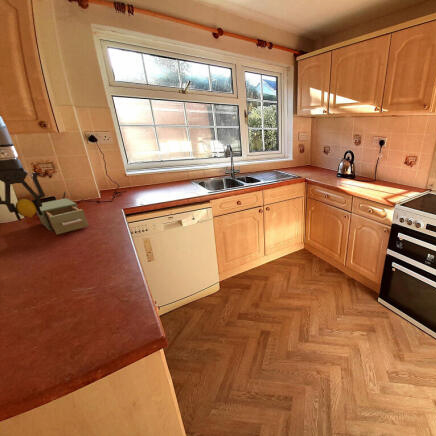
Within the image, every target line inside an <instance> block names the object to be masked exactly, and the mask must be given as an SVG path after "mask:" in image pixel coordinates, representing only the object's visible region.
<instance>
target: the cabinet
mask: <svg viewBox="0 0 436 436" xmlns="http://www.w3.org/2000/svg"><path fill="white" fill-rule="evenodd" d="M41 203H42V207H40V210H41V212H42V214H43V215H41V216H40V215H39V214H38V211H36V214H37V216H38V219H39V220H40V223H41V225H43V226H44V227H45V229H47V230H48V231H55V230H54V229H53V228H52V227H51V226H50V225H49V222H48V220H47V218H46V215H45V213H44V212H46V211H51V210H55V209H60V208H65V207H69V206H74V207H76V208H78V204H77V203H76V202H74V201H72V200H70V199H69V198H66V197H65V198H64V199H63V198H61V199H54V200H50V201H45V202H41ZM78 209H79V208H78Z"/></svg>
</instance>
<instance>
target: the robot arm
mask: <svg viewBox="0 0 436 436" xmlns="http://www.w3.org/2000/svg"><path fill="white" fill-rule="evenodd" d="M18 157H19V154H18V152H17V150H16V148H15V145H14V142H13V140H12V138H11V135H10V132H9V130H8V128H7V124H6V123H5V121H4V119H3V117H2V116H1V115H0V181H1V182H2V183H3V184H4V185H3V186H4V200H3V199H2V197H1V196H0V205H4V206H6V208H7V210H8V212H9V213H10V214H11V213H14V215H15V217H16V219H17V220H18V221H21V220H22V218H21V215H20V214H19V213H18V212H17V209H16V204H15V203H14V202H12V201H11V200H12V199H11V198H12V197H11V196H12V195H11V185H15V184H21V185H22V186H23V187H24V188H25V189H26V191H27V192H28V193H29V194H30V195H31V196H32V197H33V199H32V200H31V201H32V202H33V203H34V204H35V206H36V208H37V211H38V214H39V215H40V216H41V215H43V214H42V212H41V210H40V207H42V203H43V202H42V201H41V199H42V198H44V197H46V194H45V192H44V191H43V188H42V185H41V184H40V182H39V179H38V173H37V172H35V171H33V172H30V171H29V172H28V171H27V170H25V168H24V166H23V164H22V162H21V159H20V158H18ZM27 176H28V177H29V178H31V180H32V182H33V185H34V186H35V188H36V191H37V192H38V194H37V193H36V192H35V191H34V189H32V187H31V186H30V185H29V183H27V182H26V178H27ZM38 214H37V215H38Z"/></svg>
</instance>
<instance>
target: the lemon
mask: <svg viewBox="0 0 436 436" xmlns="http://www.w3.org/2000/svg"><path fill="white" fill-rule="evenodd" d="M15 207H16V209H17V212H18V214H19V216H22V217H27V218H32V217H33V216H35V214H37V212H36V211H37V208H36V206H35V204H34V202H33V200H30V199H26V198H21V199H19V200H17V201H16V203H15Z"/></svg>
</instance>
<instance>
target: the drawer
mask: <svg viewBox="0 0 436 436" xmlns="http://www.w3.org/2000/svg"><path fill="white" fill-rule="evenodd" d="M44 213H45V215H46V218H47V220H48V222H49V225H50V226H51V227H52V228H53V229H54V230H53V231H54V233H55V234H56V235H60V234H61V235H62V234H65V233H68V232H72V231H76V230H78V229H79V230H80V229H82V228H86V227H89V223H88V220H87V218H86V215H85V212H84V209H79V208H76V207H74V206H69V207H65V208H60V209H55V210H51V211H46V212H44Z"/></svg>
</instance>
